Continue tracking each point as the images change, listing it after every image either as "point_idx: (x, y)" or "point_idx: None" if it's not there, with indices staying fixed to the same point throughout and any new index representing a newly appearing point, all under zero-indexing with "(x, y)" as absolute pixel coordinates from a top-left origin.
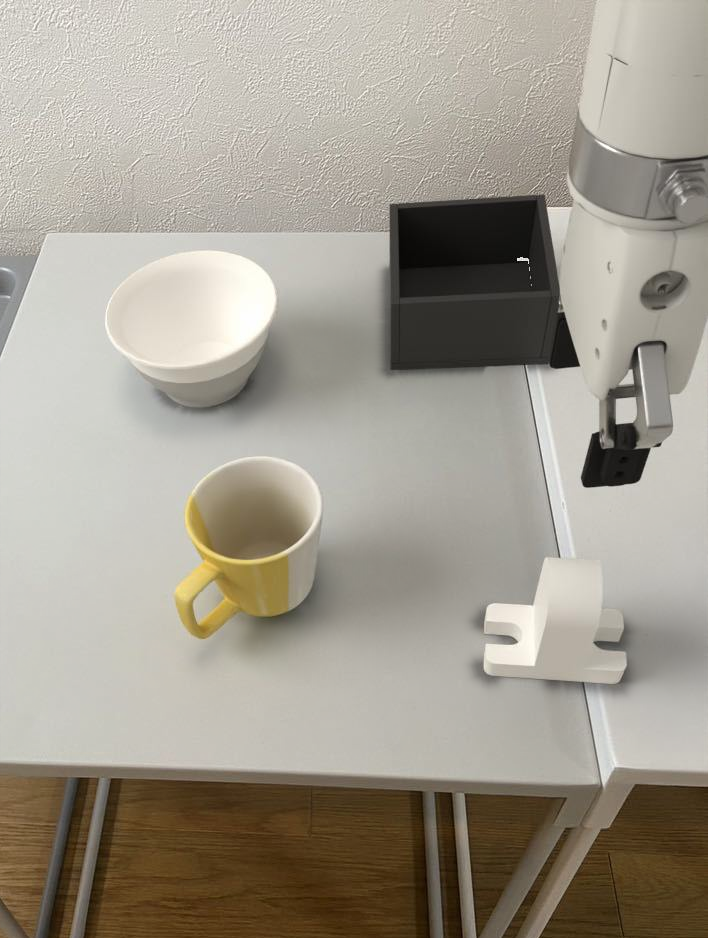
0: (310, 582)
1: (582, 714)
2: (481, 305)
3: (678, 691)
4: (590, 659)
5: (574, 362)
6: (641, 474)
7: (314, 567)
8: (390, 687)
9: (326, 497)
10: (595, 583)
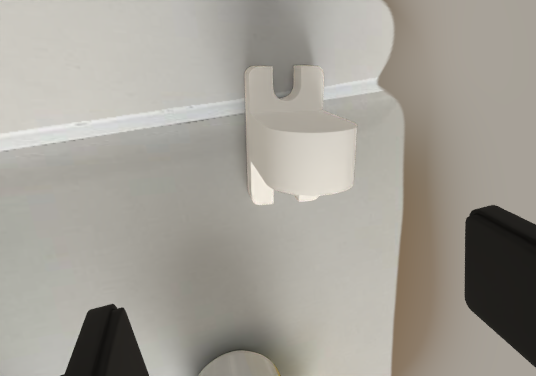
0: (254, 362)
1: (346, 103)
2: None
3: (319, 6)
4: (311, 102)
5: (140, 367)
6: (506, 211)
7: (250, 372)
8: (326, 263)
9: None
10: (335, 140)
